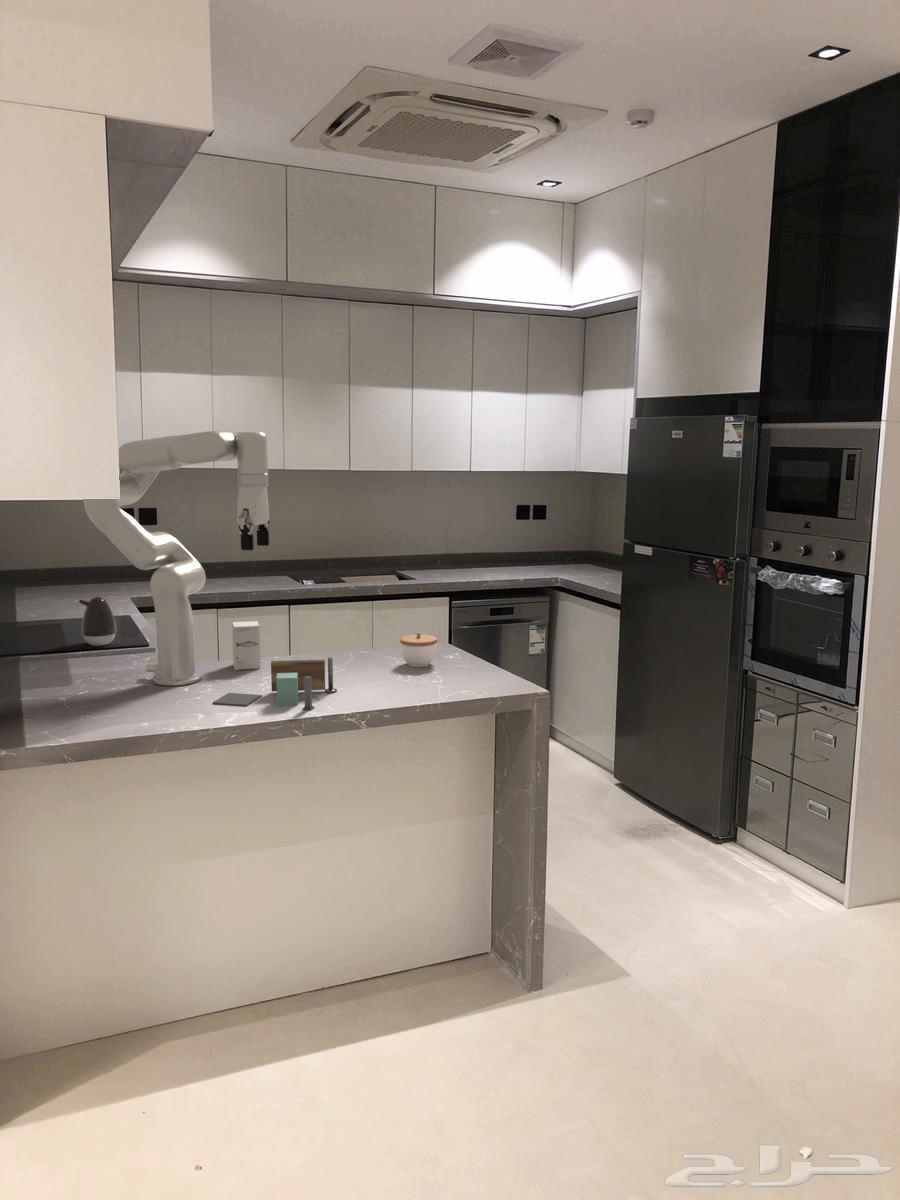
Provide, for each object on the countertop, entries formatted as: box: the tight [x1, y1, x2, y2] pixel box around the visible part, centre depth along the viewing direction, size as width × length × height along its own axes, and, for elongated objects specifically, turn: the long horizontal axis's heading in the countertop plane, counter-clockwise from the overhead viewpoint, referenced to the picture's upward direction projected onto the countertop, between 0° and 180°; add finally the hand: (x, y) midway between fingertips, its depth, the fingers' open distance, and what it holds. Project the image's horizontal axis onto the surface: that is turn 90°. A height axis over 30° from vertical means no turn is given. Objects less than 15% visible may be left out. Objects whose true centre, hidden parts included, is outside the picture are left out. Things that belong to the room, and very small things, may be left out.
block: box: [276, 673, 299, 707], centre depth 237 cm, size 5×5×7 cm
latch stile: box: [302, 676, 315, 711], centre depth 231 cm, size 2×2×8 cm
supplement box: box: [231, 620, 261, 671], centre depth 271 cm, size 7×7×13 cm
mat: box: [212, 692, 263, 707], centre depth 239 cm, size 9×9×1 cm
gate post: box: [324, 656, 338, 694], centre depth 246 cm, size 3×3×9 cm
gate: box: [270, 659, 326, 692], centre depth 245 cm, size 2×14×8 cm, turn 97°
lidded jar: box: [399, 632, 438, 668], centre depth 275 cm, size 11×11×9 cm
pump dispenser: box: [79, 596, 117, 647], centre depth 299 cm, size 10×10×15 cm
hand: (255, 547), depth 246 cm, fingers open, 9 cm apart
